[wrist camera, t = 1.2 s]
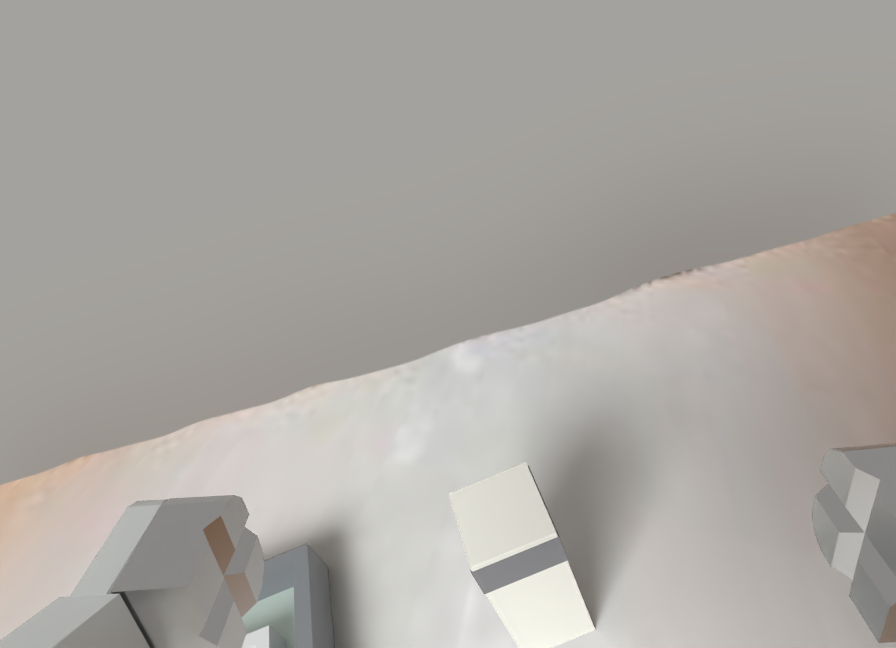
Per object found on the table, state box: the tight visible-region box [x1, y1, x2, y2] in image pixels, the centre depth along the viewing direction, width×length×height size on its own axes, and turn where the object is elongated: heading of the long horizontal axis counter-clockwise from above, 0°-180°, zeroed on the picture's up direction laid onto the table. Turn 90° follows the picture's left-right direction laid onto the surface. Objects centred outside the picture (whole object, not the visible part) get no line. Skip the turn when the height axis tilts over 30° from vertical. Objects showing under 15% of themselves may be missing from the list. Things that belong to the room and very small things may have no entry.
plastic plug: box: [449, 462, 595, 648], centre depth 31 cm, size 4×4×10 cm
